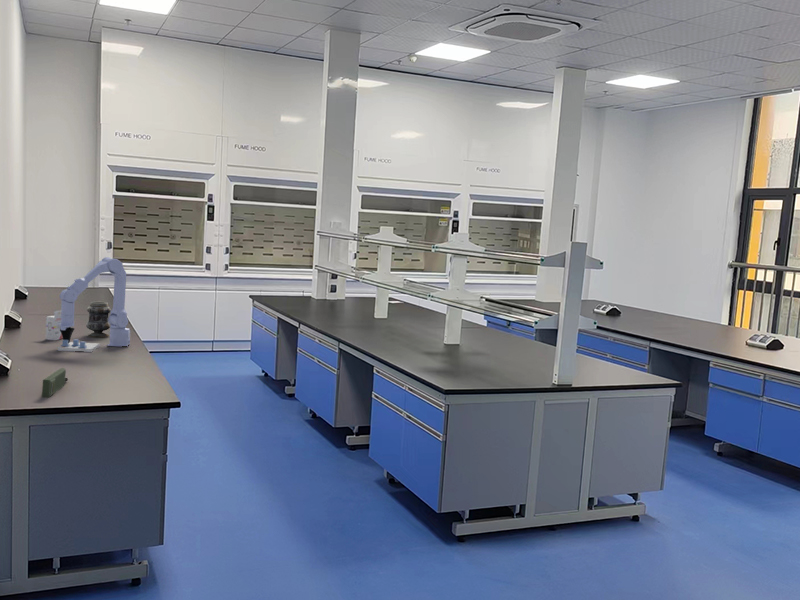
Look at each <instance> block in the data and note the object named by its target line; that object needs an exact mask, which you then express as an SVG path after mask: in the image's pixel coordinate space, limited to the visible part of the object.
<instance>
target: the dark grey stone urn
mask: <svg viewBox="0 0 800 600" xmlns="http://www.w3.org/2000/svg"><path fill="white" fill-rule="evenodd" d="M111 310H112V309H111V307H110V306H109V303H108V301H107V302H105V301H91V302H90V305H89V306H88V307H87V309H86V311H87V313H88V315H89V316H88V321H87V322H86V324H85V327H86V328H87V329H89V330H90V331H92V332H91V333H89V334H87V335H88V337H91V338H104V337H105V338H107V337H108V336H109V335H108V334H107V333H104V332H105V331H107V330H110V325H111V324H110V323H109V322H108V318H109V315H110V313H111Z"/></svg>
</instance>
